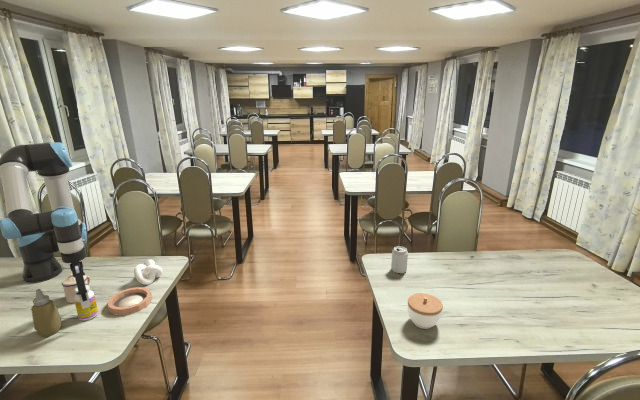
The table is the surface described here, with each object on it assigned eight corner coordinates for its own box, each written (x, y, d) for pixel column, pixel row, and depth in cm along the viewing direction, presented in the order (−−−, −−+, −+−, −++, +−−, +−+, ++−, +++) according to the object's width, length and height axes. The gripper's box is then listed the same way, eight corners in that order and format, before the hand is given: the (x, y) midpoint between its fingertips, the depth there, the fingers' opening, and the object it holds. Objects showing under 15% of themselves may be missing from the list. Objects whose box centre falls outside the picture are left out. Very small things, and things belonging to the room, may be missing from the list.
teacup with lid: (80, 304, 146) (73, 280, 142) (60, 302, 147) (54, 278, 143) (101, 289, 157) (95, 266, 153) (82, 287, 158) (77, 264, 154)
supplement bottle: (94, 320, 135) (87, 291, 132) (75, 322, 134) (68, 293, 130) (101, 310, 142) (95, 282, 138) (83, 311, 141) (76, 284, 137)
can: (390, 266, 175) (392, 244, 171) (405, 267, 174) (407, 245, 170) (391, 274, 168) (392, 251, 164) (407, 275, 167) (409, 252, 163)
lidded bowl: (403, 312, 139) (405, 288, 136) (434, 313, 139) (437, 288, 135) (410, 333, 127) (412, 307, 124) (444, 334, 127) (447, 308, 123)
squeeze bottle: (33, 341, 124) (20, 298, 119) (40, 328, 131) (28, 286, 126) (60, 335, 127) (48, 293, 122) (66, 322, 134) (54, 281, 129)
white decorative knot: (149, 289, 156) (145, 272, 153) (128, 285, 160) (125, 267, 157) (167, 277, 166) (164, 260, 164) (147, 273, 170) (144, 256, 167)
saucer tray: (106, 301, 147) (105, 295, 147) (147, 288, 157) (146, 283, 156) (112, 320, 135) (111, 314, 134) (156, 305, 145) (155, 299, 144)
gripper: (87, 258, 122) (100, 310, 128) (81, 237, 141) (92, 283, 147) (61, 265, 117) (75, 318, 124) (58, 241, 136) (71, 289, 143)
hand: (84, 299), depth 135 cm, fingers open, 13 cm apart
